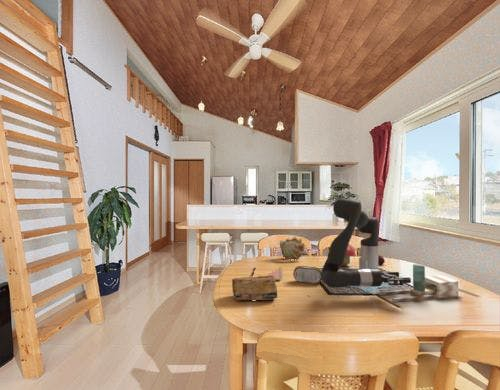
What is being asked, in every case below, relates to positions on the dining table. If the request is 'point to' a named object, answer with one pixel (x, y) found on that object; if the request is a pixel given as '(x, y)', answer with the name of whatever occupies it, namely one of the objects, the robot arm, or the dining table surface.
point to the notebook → (276, 274)
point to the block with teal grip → (421, 282)
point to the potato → (380, 260)
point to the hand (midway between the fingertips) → (404, 277)
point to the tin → (307, 274)
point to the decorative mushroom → (348, 255)
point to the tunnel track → (444, 292)
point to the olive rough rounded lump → (292, 248)
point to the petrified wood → (254, 288)
